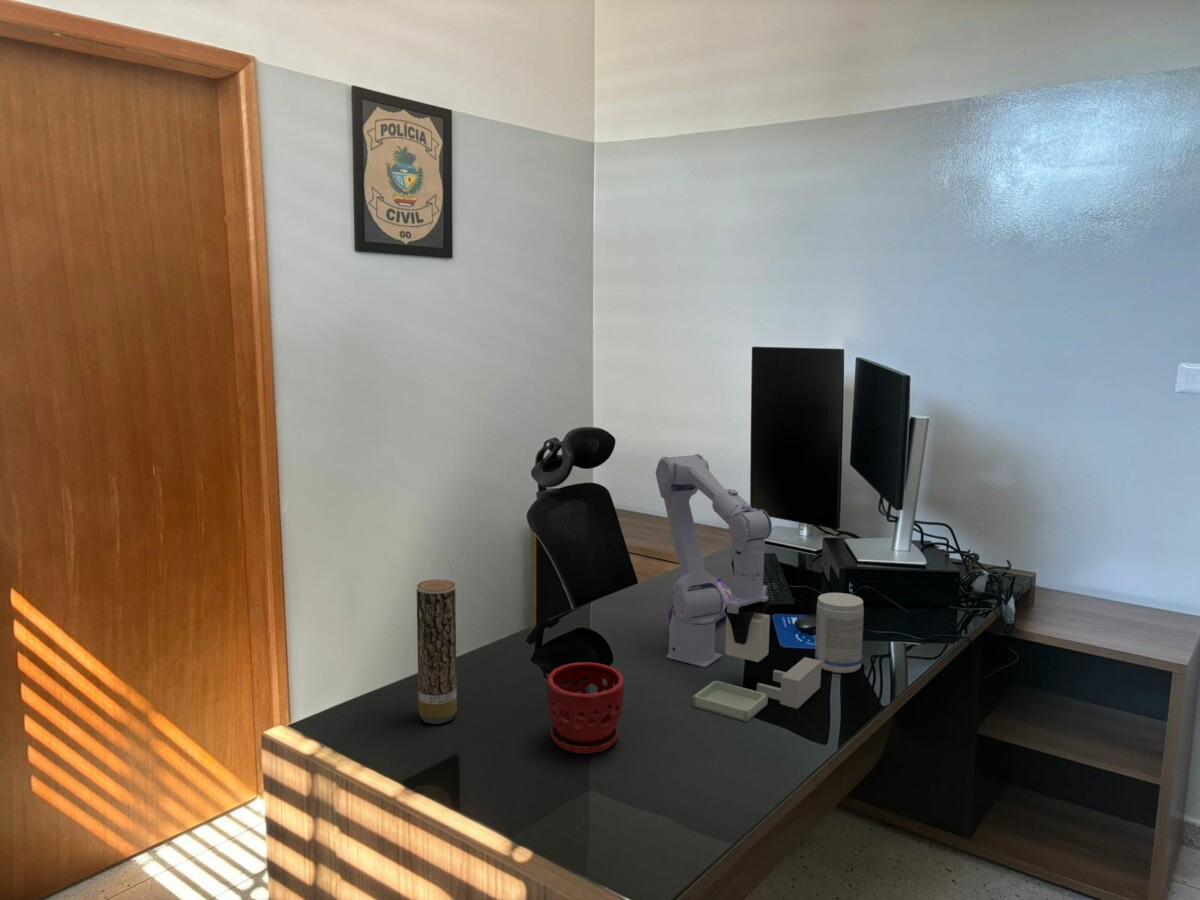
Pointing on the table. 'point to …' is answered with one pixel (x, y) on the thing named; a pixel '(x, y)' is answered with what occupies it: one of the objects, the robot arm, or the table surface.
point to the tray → (730, 700)
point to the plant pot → (585, 706)
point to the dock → (795, 683)
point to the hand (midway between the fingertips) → (746, 638)
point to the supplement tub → (839, 632)
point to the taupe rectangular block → (750, 639)
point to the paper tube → (436, 648)
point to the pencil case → (727, 597)
